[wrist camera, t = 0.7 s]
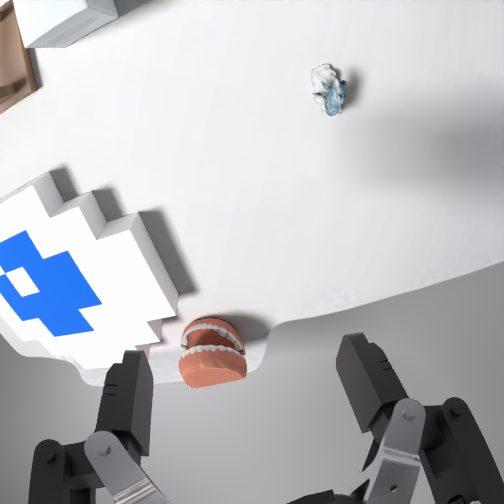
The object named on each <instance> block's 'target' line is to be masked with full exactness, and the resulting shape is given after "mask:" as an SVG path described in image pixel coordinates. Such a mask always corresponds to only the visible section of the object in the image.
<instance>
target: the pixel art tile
mask: <svg viewBox="0 0 504 504" xmlns="http://www.w3.org/2000/svg"><path fill="white" fill-rule="evenodd" d="M178 297H179V294H178V292H177V290H176V288H175V286H174V284H173V282H172V280H171V278H170V276H169V274H168V272H167V270H166V269H165V267H164V265H163V263H162V261H161V259H160V257H159V254H158V252H157V250H156V248H155V246H154V244H153V242H152V240H151V238H150V236H149V234H148V232H147V230H146V227H145V225H144V223H143V221H142V219H141V217H140V214H139V212H136V213H133V214H130V215H127V216H124V217H121V218H118V219H115V220H112V221H109V222H107V221H106V219H105V217H104V215H103V213H102V211H101V209H100V207H99V205H98V203H97V201H96V199H95V196H94V194H93V192H92V191H90V192H87V193H85V194H82V195H80V196H78V197H75V198H73V199H71V200H68V201H66V202H64V201H63V199H62V197H61V195H60V193H59V191H58V189H57V187H56V185H55V182H54V180H53V178H52V176H51V174H50V171H49V172H47V173H45V174H43V175H41V176H39V177H38V178H36V179H34V180H32V181H30V182H29V183H27V184H25V185H24V186H22V187H20V188H18V189H17V190H15V191H13V192H12V193H10V194H9V195H7V196H5V197H4V198H2V199H1V200H0V315H1V316H2V317H3V319H4V320H5V321H6V322H7V323H8V325H9V326H10V327H11V328H12V329H13V330H14V332H15V333H16V334H17V335H18V336H19V337H20V338H21V339H22V341H31V340H39V341H40V342H41V343H42V344H43V346H44V347H45V348H46V349H47V350H48V351H49V352H50V353H51V354H52V355H53V356H56V355H66V354H70V355H71V356H72V357H73V358H74V359H75V360H76V361H77V362H78V363H79V364H80V365H81V366H82V367H83V368H84V369H92V368H103V367H111V366H112V365H113V363H122V360H123V355H124V352H125V350H144V352H145V354H146V357H147V360H148V358H149V351H150V345H151V343H155V342H160V340H161V333H162V326H163V320H162V318H166V317H171V316H176V313H177V305H178Z"/></svg>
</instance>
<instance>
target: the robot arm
mask: <svg viewBox="0 0 504 504" xmlns="http://www.w3.org/2000/svg"><path fill="white" fill-rule="evenodd" d="M336 368H337V372H338V374H339V377H340V379H341V382H342V384H343V387H344V389H345V391H346V394H347V396H348V399H349V401H350V404H351V406H352V409H353V411H354V414H355V416H356V418H357V421H358V424H359V426H360V429H361V431H362V433H365V432H368V431H371V432H372V434H373V437H372V439H371V441H370V444H369V447H368V449H367V452H366V455H365V457H364V460H363V463H362V465H361V468H360V470H359V472H358V475H357V476H356V478H355V479H354V481H353V483H352V484H351V486H350V488H349V490H348V492H347V494H346V495H342V494H334V493H333V490H328V491H325V492H321V493H316V494H311V495H307V496H304V497H301V498H299V499H297V500H295V501H292V502H290V503H287V504H410V501H411V498H412V495H413V491H414V488H415V485H416V481H417V478H418V474H419V470H420V465H421V463H422V466H423V468H424V471H425V474H426V477H427V480H428V482H429V485H430V488H431V491H432V494H433V497H434V500H435V503H436V504H504V483H503V480H502V478H501V476H500V473H499V471H498V468H497V466H496V463H495V461H494V459H493V457H492V454H491V452H490V450H489V448H488V446H487V444H486V441H485V439H484V437H483V435H482V433H481V431H480V429H479V427H478V425H477V423H476V421H475V419H474V417H473V415H472V413H471V411H470V409H469V408H468V405H467V404H466V403H465V402H464V401H463V400H462V399H460V398H456V397H452V398H449V399H447V400H446V401H445V402H444V403H443V405H437V406H423V405H422V404H421V403H420V402H419V401H417V400H415V399H411V398H409V397H408V395H407V393H406V391H405V389H404V388H403V386H402V384H401V382H400V380H399V379H398V377H397V375H396V373H395V372H394V370H393V369H392V366H391V364H390V362H388V359H387V357H386V355H385V353H384V352H383V350H382V349H381V348H380V347H378V346H377V345H376V344H375V343H368V341H367V339H366V337H365V335H364V334H363V333H355V334H348V335H344V336H343V339H342V342H341V345H340V348H339V352H338V355H337V358H336ZM104 385H105V386H104V388H103V395H102V397H101V403H100V408H99V413H98V418H97V424H96V429H95V431H94V433H93V434H91V435H90V436H89V437H88V438H87V440H85V441H83V442H80V443H75V444H68V445H61V444H59V443H58V442H57V441H55V440H51V439H47V440H44V441H41V442H40V443H39V444H38V445H37V446H36V449H35V451H34V456H33V463H32V471H31V479H30V489H29V500H28V504H95V493H96V488H101V487H106V488H107V490H108V491H109V493H110V494H111V495H112V497H113V499H114V501H115V502H114V503H115V504H172V503H171V502H170V501H169V500H168V499H167V498H166V497H165V495H164V494H163V493H162V492H161V491H160V490H159V488H158V487H157V486H156V485H155V484H154V483H153V481H152V480H151V479H150V478H149V476H148V475H147V474H146V473H145V471H144V470H143V469H142V468H141V465H140V464H141V456H149V443H150V425H151V410H152V397H153V375H152V372H151V369H150V366H149V363H148V360H147V357H146V354H145V352H144V350H125V352H124V355H123V360H122V363H113V365H112V366H111V368H110V369H109V370H108V372H107V374H106V379H105V383H104ZM417 455H419V458H420V460H421V462H420V460H418V459H417Z"/></svg>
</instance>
